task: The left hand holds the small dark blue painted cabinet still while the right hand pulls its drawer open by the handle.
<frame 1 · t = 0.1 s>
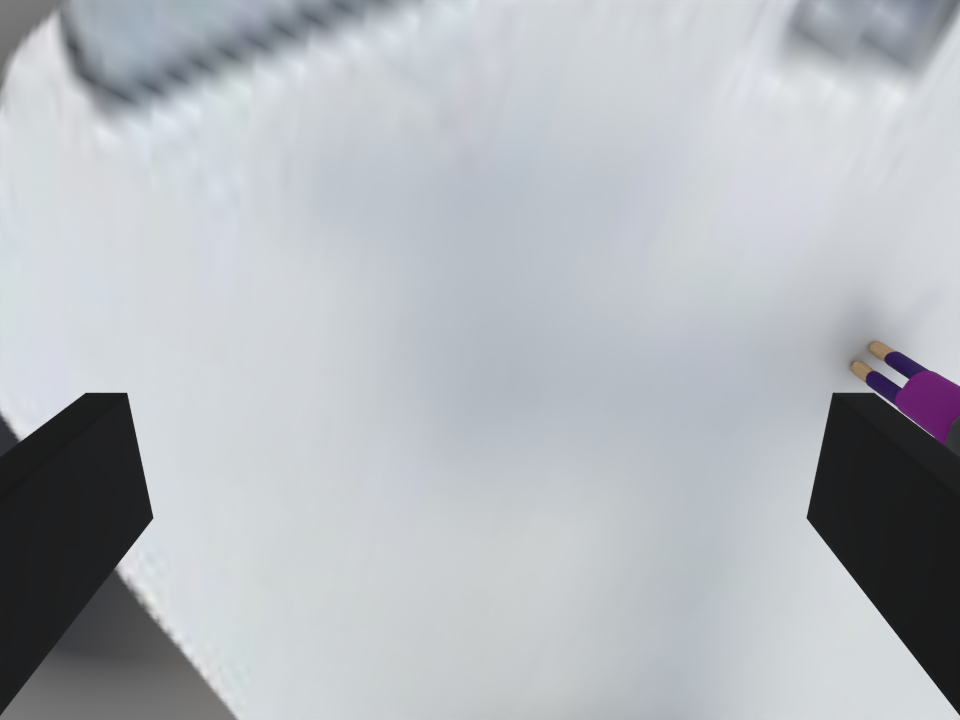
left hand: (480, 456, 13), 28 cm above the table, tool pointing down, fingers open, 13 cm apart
toy: (854, 348, 42), on the table
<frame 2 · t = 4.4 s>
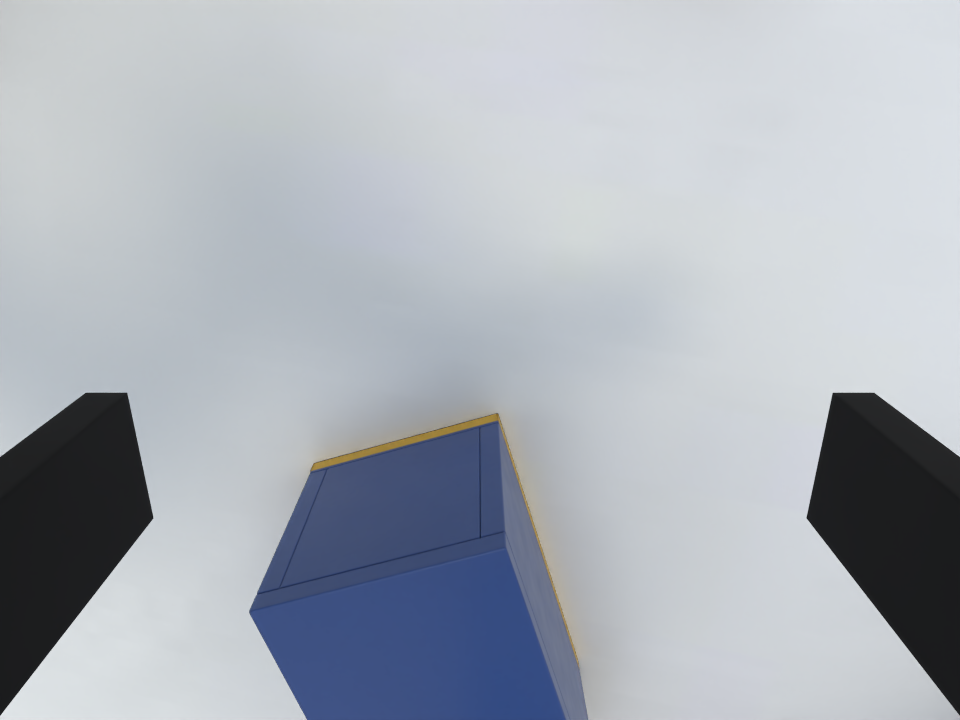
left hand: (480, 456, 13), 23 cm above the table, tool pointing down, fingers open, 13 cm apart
cabinet: (454, 567, 41), on the table
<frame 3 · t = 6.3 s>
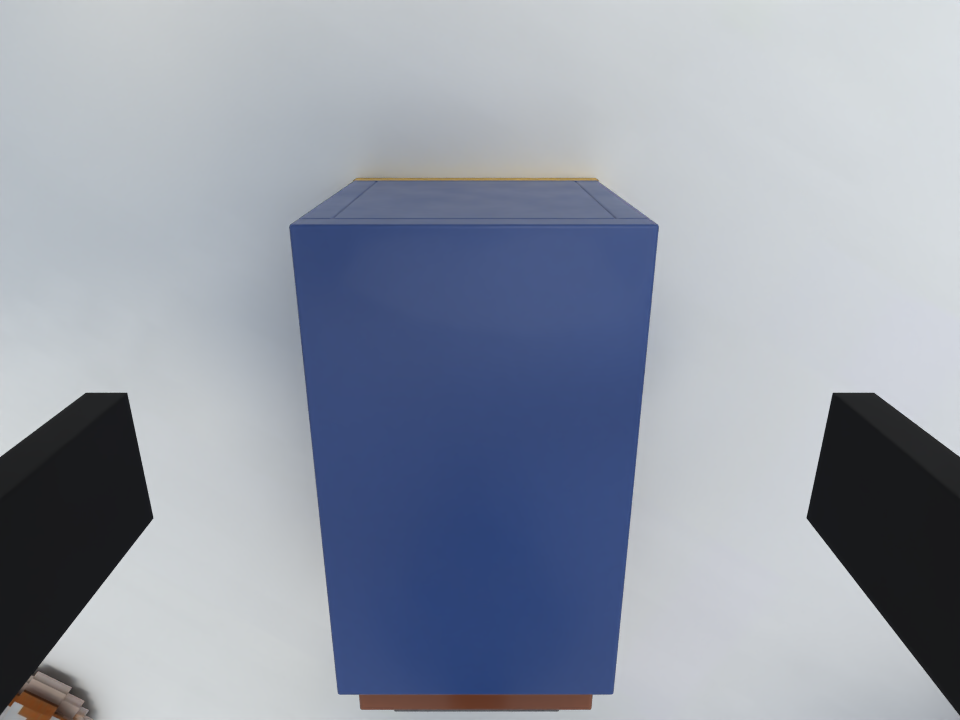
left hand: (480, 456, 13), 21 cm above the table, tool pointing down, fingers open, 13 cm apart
cabinet: (476, 366, 34), on the table
decorative ornament: (36, 706, 43), on the table
drawer: (476, 524, 31), point 6 cm above the table, slide at 0.8 cm
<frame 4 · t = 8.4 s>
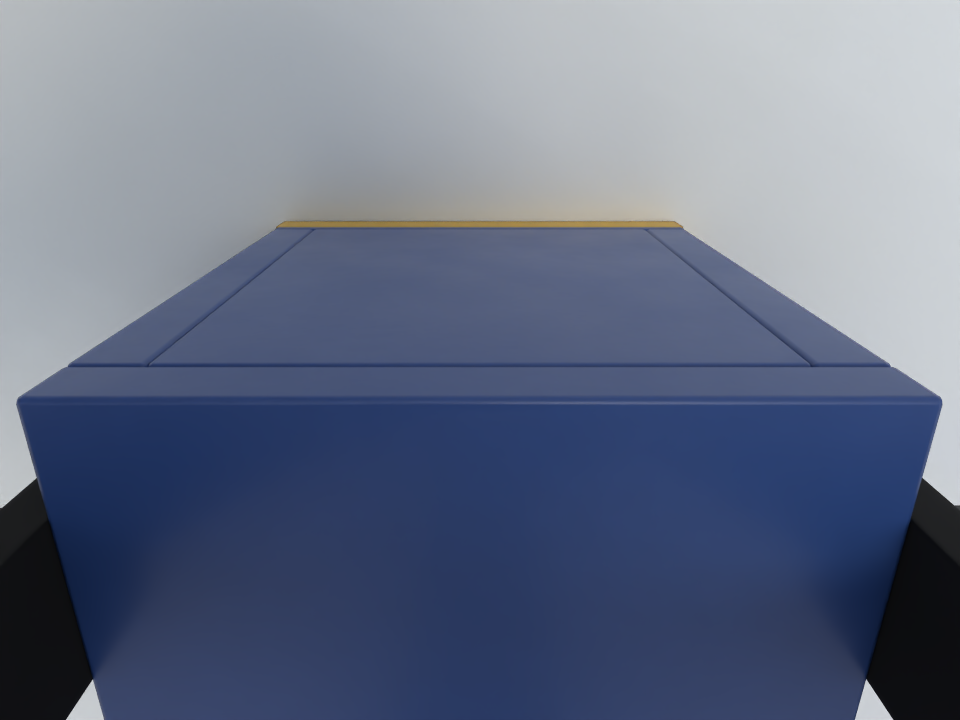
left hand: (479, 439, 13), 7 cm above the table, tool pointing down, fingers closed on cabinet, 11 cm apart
cabinet: (479, 503, 22), on the table, touching left hand
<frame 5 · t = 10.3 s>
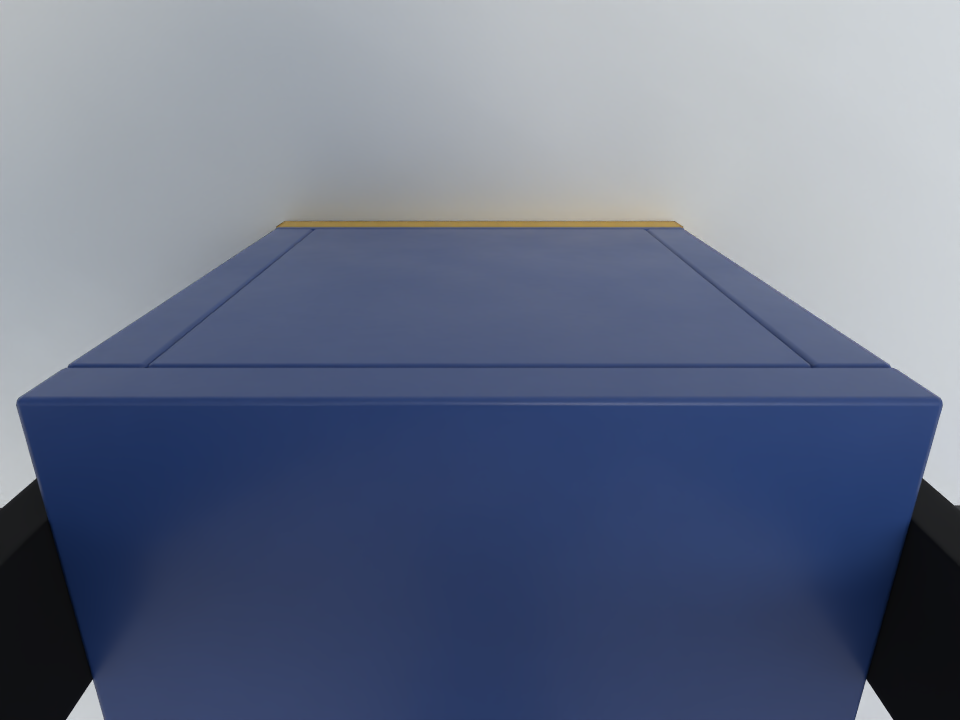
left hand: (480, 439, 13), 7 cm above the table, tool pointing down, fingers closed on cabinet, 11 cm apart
cabinet: (479, 503, 22), on the table, touching left hand
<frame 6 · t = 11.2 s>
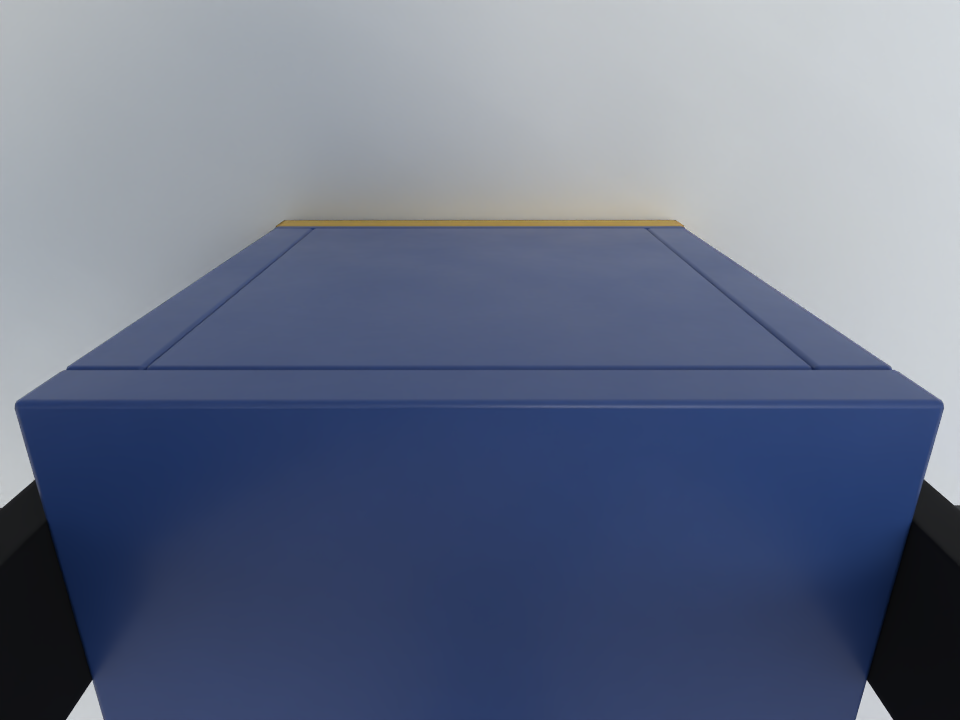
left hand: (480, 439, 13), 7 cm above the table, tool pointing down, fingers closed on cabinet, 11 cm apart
cabinet: (480, 502, 22), on the table, touching left hand
when the left hand's fingers open (7 cm above the table, at t = 13.0 s): cabinet stays where it is, on the table.
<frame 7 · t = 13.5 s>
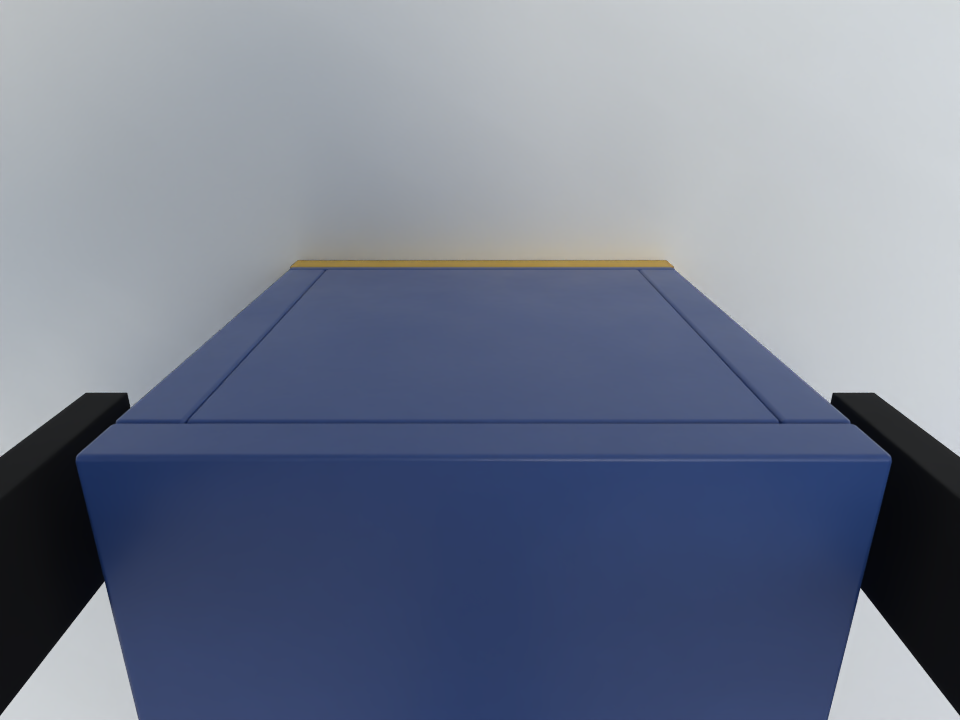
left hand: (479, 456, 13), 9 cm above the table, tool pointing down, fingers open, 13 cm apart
cabinet: (481, 525, 23), on the table
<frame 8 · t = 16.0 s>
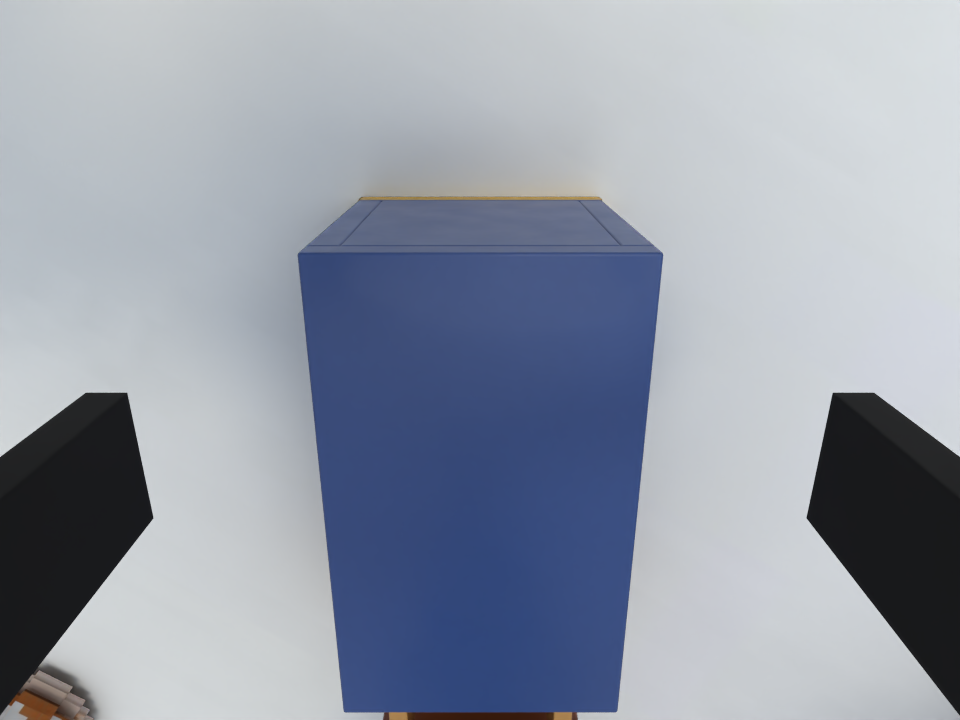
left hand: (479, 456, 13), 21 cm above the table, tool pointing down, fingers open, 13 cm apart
cabinet: (480, 381, 35), on the table
decorative ornament: (37, 705, 43), on the table
drawer: (480, 630, 33), point 6 cm above the table, slide at 6.1 cm
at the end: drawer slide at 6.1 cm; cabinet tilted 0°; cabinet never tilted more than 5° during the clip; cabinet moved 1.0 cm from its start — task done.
